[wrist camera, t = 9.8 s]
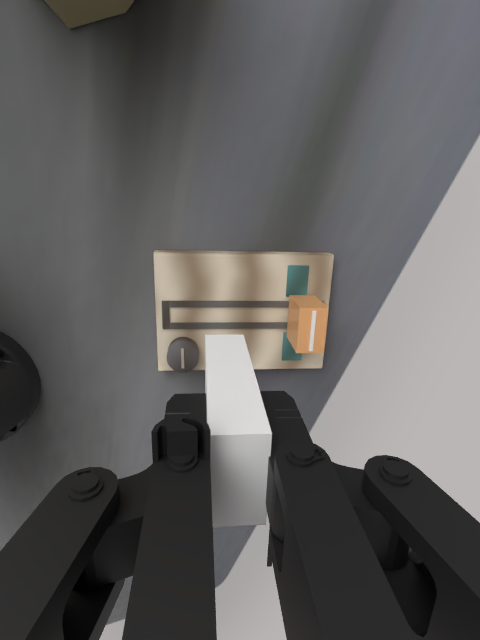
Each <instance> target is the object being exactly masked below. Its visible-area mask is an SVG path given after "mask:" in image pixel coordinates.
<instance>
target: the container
mask: <svg viewBox="0 0 480 640" xmlns="http://www.w3.org/2000/svg"><path fill="white" fill-rule="evenodd" d="M44 1H45V2H46V3H47V5H48V6H49V7H50V8H51V9H52V10H53V11H54V12H55V14H56V15H57V16H58V17H59V18H60V19H61V20H62V21H63V22H64V24H65V25H66V26H67V27H68V28H70V29H71V28H74V27H78V26H81V25H85V24H88V23H92V22H95V21H98V20H102V19H105V18H109V17H113V16H116V15H120V14H124V13H126V12H127V10H128V9H129V7H130V6H131V5H132V3H133V2H134V1H135V0H44Z"/></svg>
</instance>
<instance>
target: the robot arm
mask: <svg viewBox="0 0 480 640" xmlns="http://www.w3.org/2000/svg"><path fill="white" fill-rule="evenodd" d="M39 396H40V380H39V375H38V372H37V369H36V367H35V365H34V363H33V361H32V359H31V358H30V356H29V355H28V354H27V352H26V351H25V350H24V349H23V348H22V347H21V346H20V345H19V344H18V343H17V342H15V341H14V340H13V339H12V338H10V337H9V336H7V335H5V334H4V333H2V332H0V442H1V441H3V440H5V439H6V438H8V437H10V436H11V435H13V434H14V433H15V432H16V431H18V430H19V429H20V428H21V427H22V426H23V425H24V423H25V422H26V421H27V420H28V418H29V417H30V416H31V414H32V413H33V411H34V410H35V408H36V406H37V403H38V400H39ZM152 453H153V464H152V465H151V466H150V467H148V468H147V469H146V470H144V471H142V472H140V473H138V474H135V475H132V476H129V477H125V478H122V479H118V480H117V476H116V475H115V474H114V473H113V472H112V471H111V470H108V469H105V468H102V467H88V468H85V469H81V470H77V471H75V472H73V473H71V474H69V475H67V476H65V477H64V478H63V479H62V480H61V481H59V482H58V483H57V484H56V485H55V486H54V488H53V489H52V490H51V491H50V492H49V494H48V495H47V496H46V497H45V498H44V500H43V501H42V502H41V503H40V504H39V506H38V507H37V508H36V509H35V510H34V512H33V513H32V514H31V515H30V516H29V518H28V519H27V520H26V521H25V522H24V524H23V525H22V526H21V527H20V528H19V530H18V531H17V532H16V533H15V534H14V536H13V537H12V538H11V539H10V540H9V542H8V543H7V544H6V545H5V546H4V548H3V549H2V550H1V551H0V640H99V638H100V636H101V634H102V632H103V630H104V627H105V625H106V623H107V621H108V618H109V616H110V614H111V612H112V609H113V607H114V605H115V603H116V601H117V598H118V596H119V594H120V592H121V589H122V587H123V585H124V581H125V578H127V577H130V576H132V575H133V580H132V585H131V591H130V597H129V602H128V608H127V614H126V620H125V626H124V631H123V637H122V640H217V637H216V610H215V609H216V608H215V580H214V552H213V527H229V526H249V525H266V515H267V514H266V513H268V518H269V523H270V530H269V544H268V558H267V559H268V560H267V566H272V563H273V568H274V573H275V579H276V584H277V589H278V595H279V599H280V605H281V611H282V616H283V622H284V626H285V632H286V637H287V640H480V523H479V522H478V521H477V520H476V519H475V518H473V517H472V516H471V515H470V514H469V513H468V512H467V511H466V510H465V509H463V508H462V507H461V506H460V505H459V504H458V503H457V502H455V501H454V500H453V499H452V498H451V497H450V496H449V495H448V494H446V493H445V492H444V491H443V490H442V489H441V488H440V487H439V486H437V485H436V484H435V483H434V482H433V481H432V480H431V479H430V478H428V477H427V476H426V475H425V474H424V473H423V472H422V471H421V470H419V469H418V468H417V467H415V466H414V465H412V464H411V463H409V462H408V461H405V460H403V459H400V458H398V457H393V456H387V455H382V456H375V457H373V458H370V459H369V460H368V461H367V462H366V464H365V468H364V470H362V469H357V468H351V467H346V466H342V465H339V464H336V463H333V462H331V460H330V457H329V456H328V454H327V453H326V452H325V450H323V449H322V448H321V447H319V446H318V445H316V444H313V442H312V440H311V437H310V435H309V433H308V431H307V428H306V426H305V424H304V421H303V419H302V418H301V415H300V412H299V410H298V408H297V406H296V403H295V401H294V399H293V398H292V397H291V396H289V395H288V394H287V393H286V392H285V391H260V390H259V387H258V383H257V380H256V376H255V373H254V369H253V366H252V362H251V359H250V355H249V352H248V348H247V345H246V341H245V338H244V335H205V393H203V394H175V395H174V396H173V397H172V398H171V399H170V400H169V401H168V402H167V406H166V412H165V418H164V420H162V421H160V422H159V423H158V424H156V425H155V426H154V428H153V430H152Z"/></svg>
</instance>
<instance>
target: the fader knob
mask: <svg viewBox="0 0 480 640" xmlns="http://www.w3.org/2000/svg"><path fill="white" fill-rule="evenodd" d="M328 310H329V308H328V307H327V306H326V305H325V304H324V303H323V302H322V301H321V300H320V299H319V298H318V297H317V296H315V295H289V308H288V322H287V338H288V340H289V342H290V343H291V345H292V347H293V348H294V350H295V352H296V353H324V348H325V339H326V329H327V320H328Z"/></svg>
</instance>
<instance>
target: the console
mask: <svg viewBox="0 0 480 640" xmlns="http://www.w3.org/2000/svg"><path fill="white" fill-rule="evenodd" d="M333 261H334V255H332V254H330V253H324V252H257V251H191V250H155V251H154V276H155V300H156V324H157V348H158V371H170V370H175V371H177V372H188V371H191V370H205V335H244V338H245V341H246V345H247V348H248V352H249V355H250V359H251V362H252V366H253V369H303V368H322V365H323V355H324V353H296V352H295V350H294V348H293V347H292V345H291V343H290V342H289V340H288V338H287V322H288V308H289V295H315V296H317V297H318V298H319V299H320V300H321V301H322V302H323V303H324V304H325V305H326V306H327V307H328V308H329V298H330V289H331V279H332V270H333Z"/></svg>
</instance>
